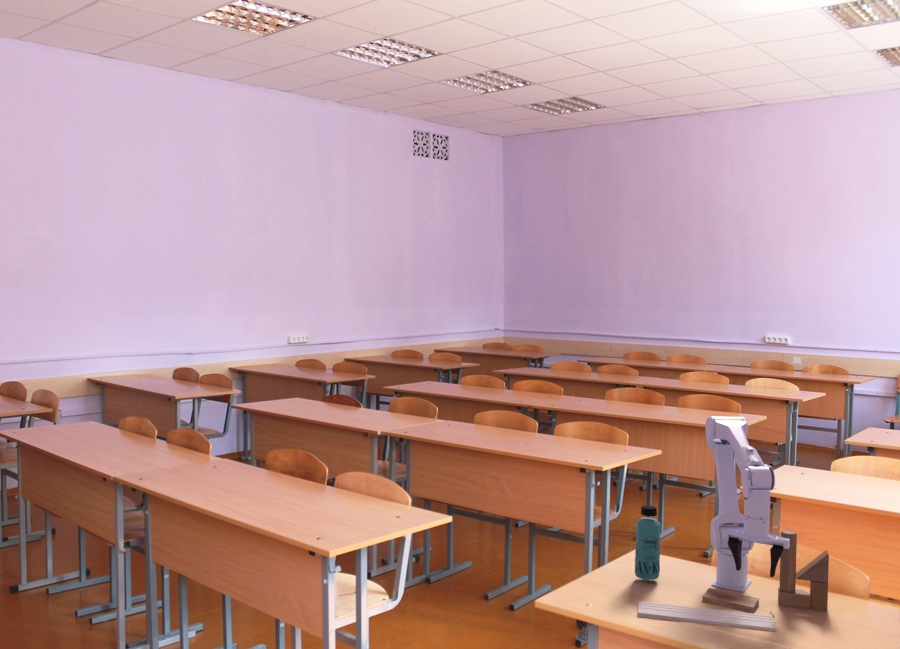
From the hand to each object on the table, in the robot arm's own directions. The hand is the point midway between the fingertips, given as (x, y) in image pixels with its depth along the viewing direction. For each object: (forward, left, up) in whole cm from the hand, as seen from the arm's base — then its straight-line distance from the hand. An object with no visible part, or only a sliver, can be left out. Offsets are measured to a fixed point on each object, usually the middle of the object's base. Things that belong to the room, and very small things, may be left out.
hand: (755, 572), depth 186 cm
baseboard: (+9, -9, -10) cm, 17 cm away
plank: (-2, -6, -9) cm, 11 cm away
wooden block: (-10, +9, -10) cm, 17 cm away
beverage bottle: (-5, -28, -10) cm, 30 cm away
